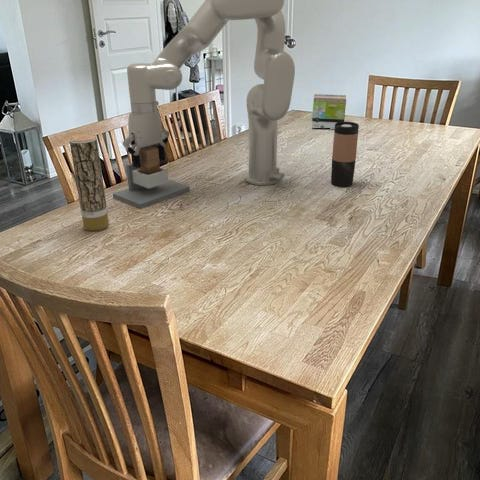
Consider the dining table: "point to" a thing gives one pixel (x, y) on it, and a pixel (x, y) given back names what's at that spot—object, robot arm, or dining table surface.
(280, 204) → the dining table surface
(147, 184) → the bracket stand
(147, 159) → the rail post
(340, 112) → the tea box
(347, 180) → the travel mug
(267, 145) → the robot arm
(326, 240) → the dining table surface
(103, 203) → the brown bark cylinder
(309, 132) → the dining table surface
